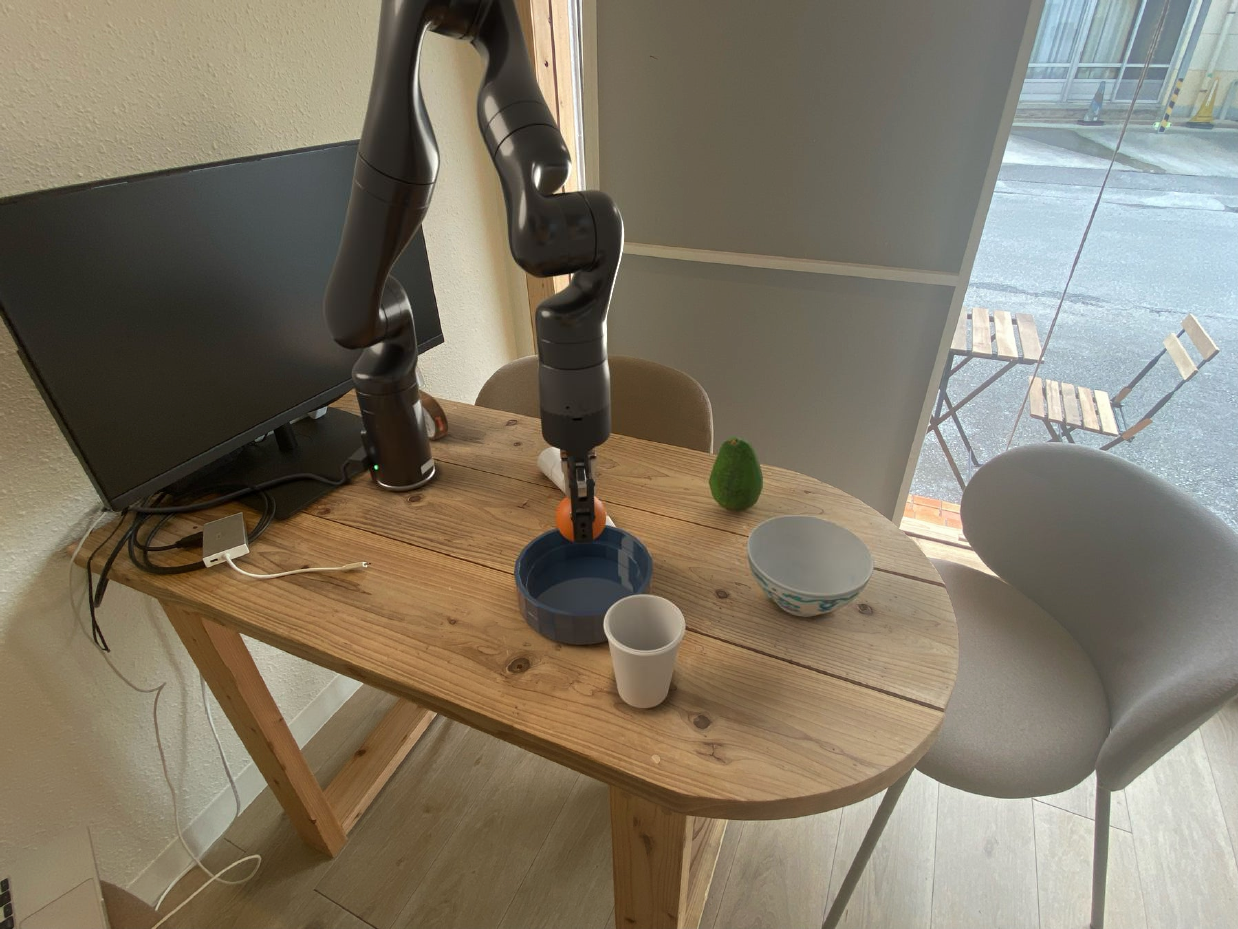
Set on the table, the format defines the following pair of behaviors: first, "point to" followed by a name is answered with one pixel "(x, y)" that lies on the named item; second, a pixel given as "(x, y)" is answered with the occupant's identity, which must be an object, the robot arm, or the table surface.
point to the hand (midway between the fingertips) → (581, 523)
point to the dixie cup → (644, 647)
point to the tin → (433, 416)
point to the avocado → (736, 475)
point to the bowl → (579, 582)
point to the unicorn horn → (556, 470)
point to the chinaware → (808, 563)
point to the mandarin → (566, 524)
